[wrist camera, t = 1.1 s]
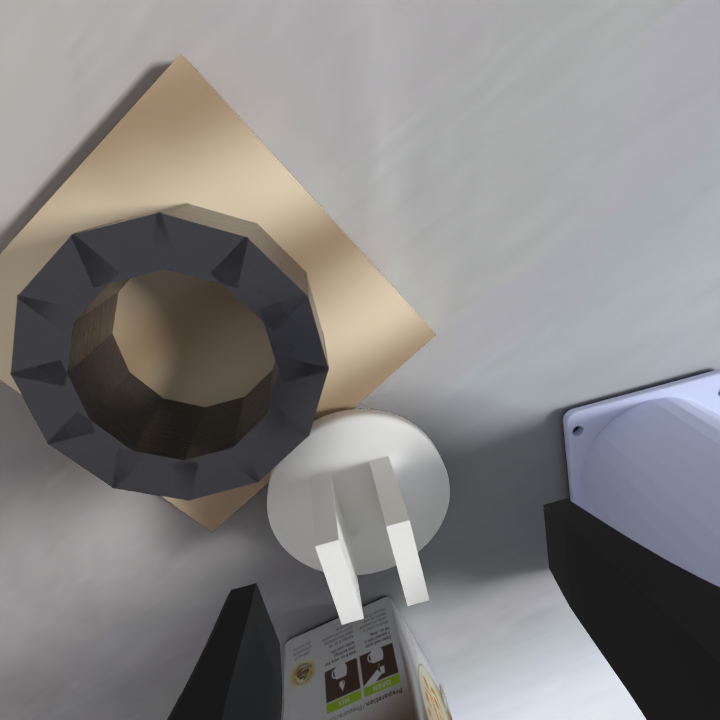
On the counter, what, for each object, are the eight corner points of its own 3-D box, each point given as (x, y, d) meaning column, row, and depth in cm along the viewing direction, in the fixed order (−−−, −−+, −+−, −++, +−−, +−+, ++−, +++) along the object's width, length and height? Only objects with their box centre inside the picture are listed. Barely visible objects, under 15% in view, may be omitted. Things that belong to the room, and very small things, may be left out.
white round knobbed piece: (447, 512, 25) (496, 623, 19) (296, 554, 25) (296, 680, 19) (417, 374, 22) (464, 451, 16) (247, 419, 22) (229, 515, 16)
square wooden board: (430, 327, 21) (436, 334, 20) (215, 518, 23) (212, 532, 22) (186, 60, 17) (180, 53, 16) (-51, 322, 19) (-69, 330, 18)
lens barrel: (343, 406, 21) (353, 456, 17) (129, 463, 21) (92, 527, 17) (281, 179, 18) (276, 181, 14) (24, 244, 17) (-49, 264, 14)
